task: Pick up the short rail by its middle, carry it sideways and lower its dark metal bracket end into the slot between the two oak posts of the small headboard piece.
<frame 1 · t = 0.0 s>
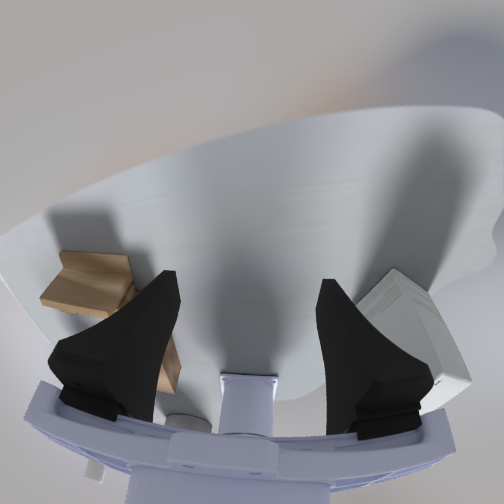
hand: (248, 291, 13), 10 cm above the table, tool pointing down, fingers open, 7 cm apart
rail: (160, 334, 31), on the table, touching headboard
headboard: (102, 286, 28), on the table
pillar candle: (189, 421, 48), on the table
bath foam: (123, 381, 40), on the table
supplement box: (389, 301, 27), on the table
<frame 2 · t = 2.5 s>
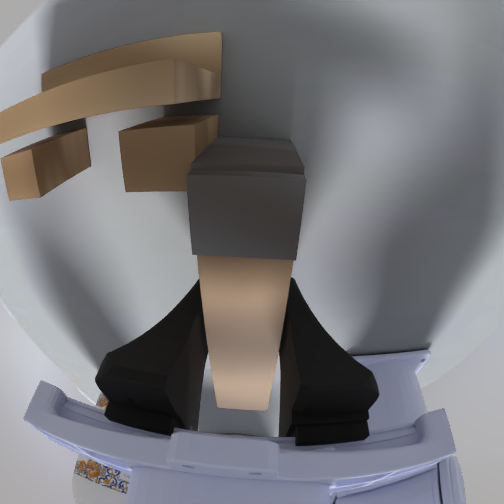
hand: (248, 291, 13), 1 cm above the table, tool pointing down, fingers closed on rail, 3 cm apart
rail: (249, 273, 14), on the table, touching gripper
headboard: (123, 142, 11), on the table
bath foam: (138, 388, 24), on the table
when the fingers open (3 cm above the table, at t = 6.4 s): rail stays where it is, on the table.
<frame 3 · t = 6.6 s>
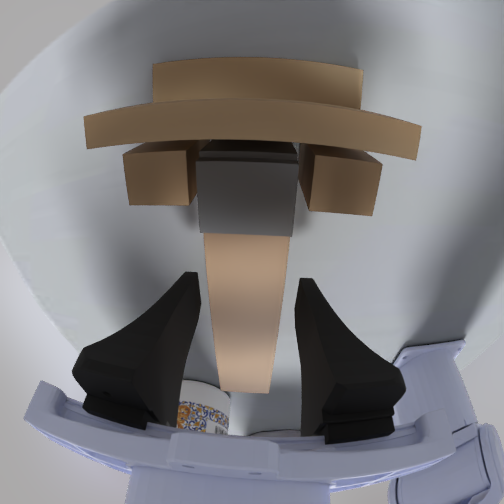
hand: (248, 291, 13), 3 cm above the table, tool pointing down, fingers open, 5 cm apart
rail: (250, 259, 15), on the table
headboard: (254, 154, 12), on the table
bath foam: (197, 392, 25), on the table
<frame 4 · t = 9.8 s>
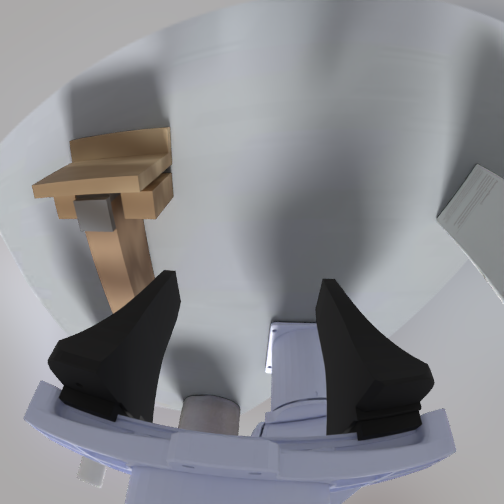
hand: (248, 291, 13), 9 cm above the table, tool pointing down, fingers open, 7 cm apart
rail: (133, 247, 24), on the table
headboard: (122, 186, 20), on the table
pillar candle: (212, 405, 41), on the table
bath foam: (132, 351, 33), on the table
supplement box: (471, 211, 20), on the table
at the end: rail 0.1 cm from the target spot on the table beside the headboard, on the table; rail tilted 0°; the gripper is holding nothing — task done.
